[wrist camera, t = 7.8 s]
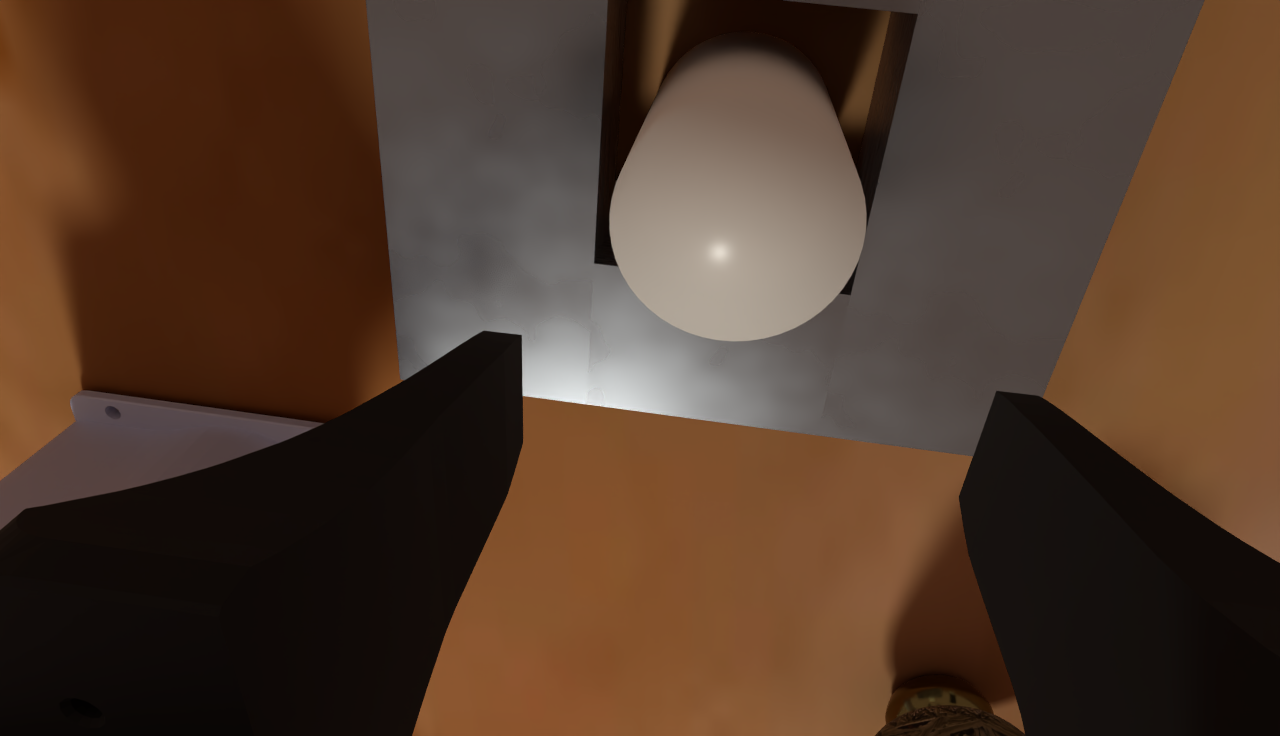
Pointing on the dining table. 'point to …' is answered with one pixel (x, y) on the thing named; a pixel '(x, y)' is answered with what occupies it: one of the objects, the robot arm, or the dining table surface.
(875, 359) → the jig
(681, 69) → the white rounded cylinder
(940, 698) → the cup
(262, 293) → the dining table surface
